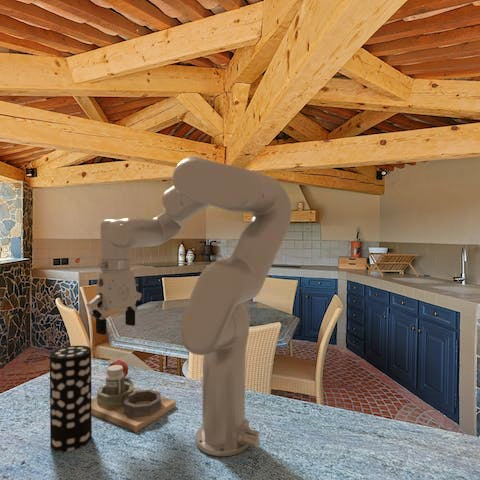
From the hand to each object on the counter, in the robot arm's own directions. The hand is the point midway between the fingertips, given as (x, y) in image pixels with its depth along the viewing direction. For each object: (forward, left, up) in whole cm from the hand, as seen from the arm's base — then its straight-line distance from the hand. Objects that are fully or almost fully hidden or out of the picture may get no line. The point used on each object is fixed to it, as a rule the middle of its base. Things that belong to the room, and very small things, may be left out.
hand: (116, 329), depth 97 cm
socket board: (-5, 0, -20) cm, 21 cm away
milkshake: (-22, -13, -20) cm, 33 cm away
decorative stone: (+12, -11, -21) cm, 26 cm away
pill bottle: (0, 0, -19) cm, 19 cm away
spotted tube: (-5, +17, -20) cm, 27 cm away
